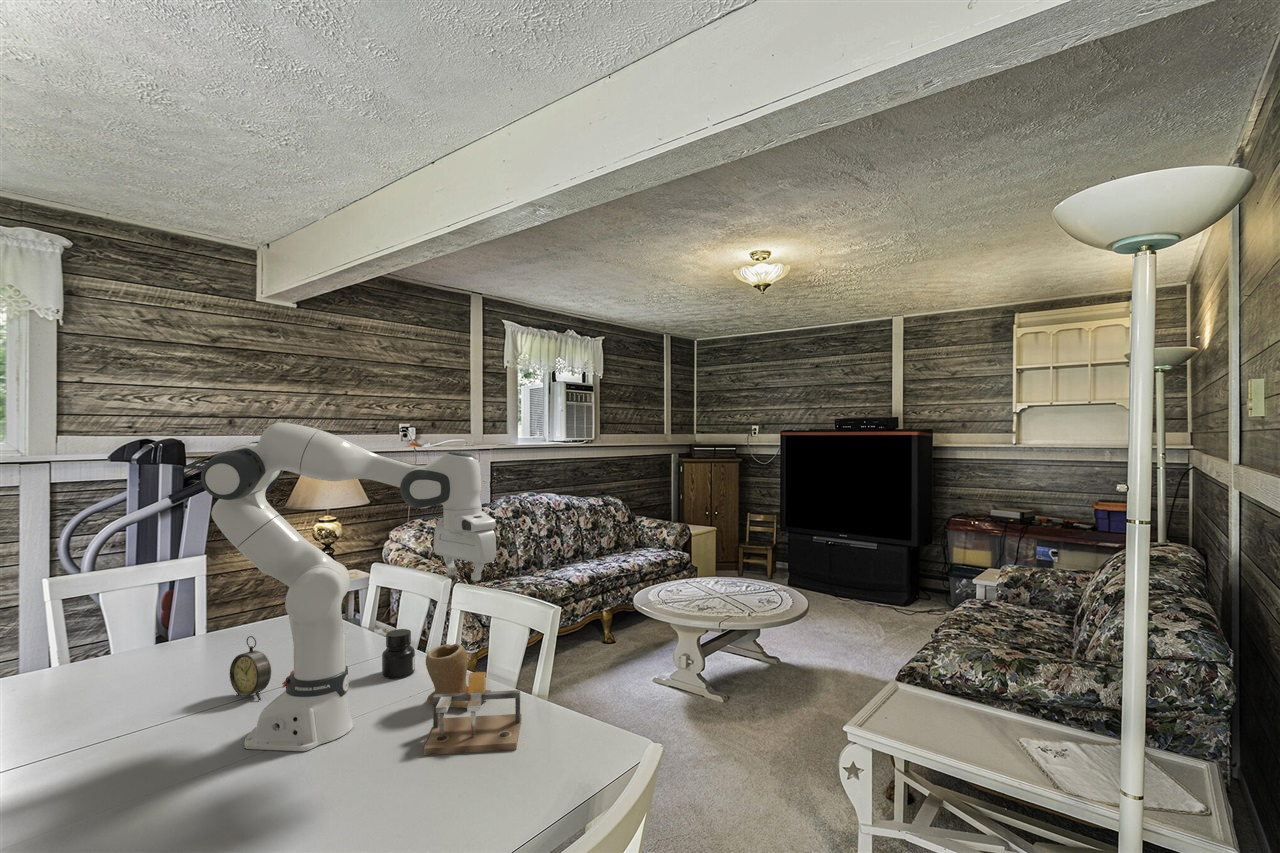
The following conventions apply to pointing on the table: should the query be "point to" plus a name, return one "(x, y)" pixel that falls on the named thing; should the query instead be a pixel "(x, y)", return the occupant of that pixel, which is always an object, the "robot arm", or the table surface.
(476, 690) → the sliding pointer
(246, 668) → the alarm clock
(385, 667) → the ink bottle
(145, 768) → the table surface
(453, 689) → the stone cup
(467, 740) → the hole plate
